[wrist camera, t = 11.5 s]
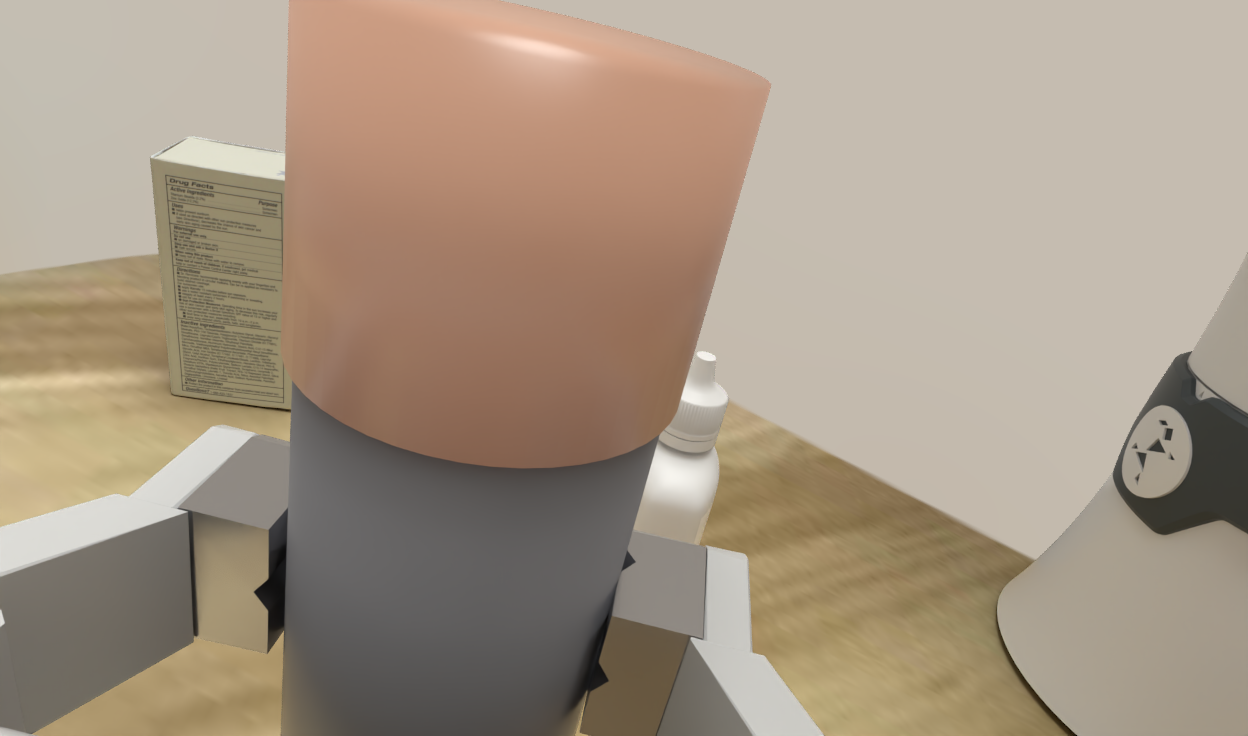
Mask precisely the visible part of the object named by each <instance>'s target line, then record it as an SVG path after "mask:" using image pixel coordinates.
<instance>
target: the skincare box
mask: <svg viewBox="0 0 1248 736" xmlns="http://www.w3.org/2000/svg"><path fill="white" fill-rule="evenodd" d="M150 162H151V172H152V182H153V194H154V204H155V215H156V226H157V227H156V228H157V238H158V250H159V262H160V272H161V284H162V295H163V306H164V317H165V330H166V340H167V351H168V363H169V374H170V385H171V393H172V394H174V395H179V396H187V397H194V398H201V399H208V400H216V401H225V402H233V403H240V404H247V405H254V406H262V407H274V408H283V409H291V398H292V380H291V378H290V376H289V374H288V372H287V370H286V369H285V367H284V363H283V359H282V355H281V317H282V275H283V233H284V191H285V152H282V151H276V150H270V149H264V148H257V147H252V146H246V145H239V144H234V143H229V142H222V141H216V140H210V139H205V138H199V137H193V136H190V137H187V138H185V139H183V140H181V141H179V142H177V143H175V144H173V145H171V146H169V147H167V148H165V149H164V150H162V151H160V152H158V153H156V154H154V155H152V156H151V157H150Z"/></svg>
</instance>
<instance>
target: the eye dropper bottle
mask: <svg viewBox="0 0 1248 736" xmlns="http://www.w3.org/2000/svg"><path fill="white" fill-rule="evenodd" d="M715 365H716V357H715V356H714V355H713V354H711V353H708V352H702V351H701V352H698V353H697V354H696V357H695V358H694V360H693V362H692V364H691V366H690V369H689V372H688V376H687V379H686V383H685V386H684V390H683V393H682V397H681V400H680V403H679V407H678V410H677V413H676V415H675V416H674V418H673V420H672V421H671V423H670V424H669V425H668V426H667V427H666V428H665V429H664V431H663V432H662V433H661V434H660V435H659V439H658V443H657V446H656V450H655V453H654V457H653V460H652V464H651V467H650V471H649V475H648V478H647V482H646V485H645V489H644V492H643V496H642V499H641V503H640V507H639V510H638V514H637V517H636V521H635V524H634V528H633V529H634V530H638V531H643V532H647V533H651V534H655V535H659V536H663V537H667V538H671V539H675V540H679V541H683V542H688V543H692V544H696V545H699V544H700V541H701V538H702V535H703V532H704V528H705V525H706V522H707V519H708V516H709V513H710V510H711V507H712V503H713V500H714V497H715V494H716V490H717V486H718V480H719V461H718V456H717V452H716V449H715V447H714V445H715V443H716V439H717V436H718V433H719V430H720V427H721V423H722V420H723V417H724V414H725V411H726V408H727V404H728V401H729V398H728V396H727V393H726V391H725V390H724V389H723V388H722V387H721V386H720V385H718V384H717V383H715V381H714V376H715Z"/></svg>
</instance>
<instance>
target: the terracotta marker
mask: <svg viewBox="0 0 1248 736" xmlns="http://www.w3.org/2000/svg"><path fill="white" fill-rule="evenodd" d="M288 27H289V28H288V66H287V107H286V109H287V111H286V151H285V191H284V233H283V275H282V317H281V355H282V359H283V363H284V367H285V369H286V370H287V372H288V374H289V376H290V378H291V380H292V398H291V429H290V461H289V492H288V524H287V556H286V587H285V619H284V650H283V682H282V714H281V736H575V734H576V730H577V727H578V723H579V720H580V716H581V713H582V709H583V705H584V702H585V698H586V695H587V690H588V686H589V682H590V679H591V675H592V671H593V668H594V664H595V660H596V656H597V653H598V650H599V648H600V645H601V642H602V638H603V634H604V630H605V624H606V620H607V617H608V613H609V610H610V606H611V602H612V599H613V595H614V592H615V588H616V585H617V581H618V578H619V576H620V574H621V570H622V567H623V563H624V560H625V556H626V553H627V549H628V546H629V542H630V538H631V535H632V531H633V528H634V524H635V521H636V517H637V514H638V510H639V507H640V503H641V499H642V496H643V492H644V489H645V485H646V482H647V478H648V475H649V471H650V467H651V464H652V460H653V457H654V453H655V450H656V446H657V443H658V439H659V435H660V434H661V433H662V432H663V431H664V429H665V428H666V427H667V426H668V425H669V424H670V423H671V421H672V420H673V418H674V416H675V415H676V413H677V410H678V407H679V403H680V400H681V397H682V393H683V390H684V386H685V383H686V379H687V376H688V372H689V369H690V365H691V362H692V358H693V355H694V351H695V348H696V345H697V341H698V338H699V334H700V330H701V327H702V324H703V320H704V316H705V313H706V310H707V306H708V303H709V300H710V296H711V293H712V289H713V286H714V282H715V278H716V275H717V271H718V268H719V265H720V261H721V258H722V254H723V251H724V248H725V244H726V241H727V237H728V233H729V230H730V227H731V223H732V220H733V216H734V213H735V209H736V206H737V203H738V199H739V196H740V192H741V189H742V185H743V182H744V178H745V175H746V171H747V168H748V164H749V161H750V158H751V154H752V151H753V147H754V144H755V140H756V137H757V133H758V130H759V126H760V123H761V119H762V116H763V112H764V109H765V106H766V102H767V98H768V95H769V91H770V88H771V84H770V82H769V81H768V80H766V79H765V78H763V77H762V76H760V75H758V74H756V73H754V72H752V71H749V70H747V69H744V68H742V67H739V66H737V65H735V64H732V63H729V62H727V61H724V60H721V59H718V58H715V57H712V56H709V55H706V54H703V53H700V52H697V51H694V50H691V49H688V48H684V47H681V46H678V45H674V44H671V43H668V42H664V41H661V40H658V39H654V38H651V37H647V36H643V35H640V34H636V33H632V32H629V31H625V30H621V29H617V28H614V27H610V26H606V25H602V24H598V23H594V22H590V21H586V20H582V19H578V18H574V17H570V16H566V15H561V14H558V13H553V12H549V11H544V10H540V9H536V8H532V7H527V6H523V5H518V4H514V3H509V2H504V1H500V0H289V23H288Z"/></svg>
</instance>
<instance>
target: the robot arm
mask: <svg viewBox="0 0 1248 736" xmlns="http://www.w3.org/2000/svg"><path fill="white" fill-rule="evenodd" d="M289 461H290V442H288V441H284V440H280V439H277V438H273V437H269V436H266V435H259V434H257V433H253V432H249V431H246V430H242V429H238V428H234V427H230V426H226V425H218V426H213V427H211V428H209V429H208V430H207V431H206V432H204V433H203V434H202V435H201V436H200V437H199V438H197V439H196V440H195V441H194V442H193V443H191V444H190V445H189V446H188V447H187V448H186V449H184V450H183V451H182V452H181V453H180V454H178V455H177V456H176V457H175V458H174V459H173V460H171V461H170V462H169V463H168V464H167V465H165V466H164V467H163V468H162V469H161V470H160V471H158V472H157V473H156V474H155V475H154V476H152V477H151V478H150V479H149V480H148V481H147V482H145V483H144V484H143V485H142V486H141V487H139V488H138V489H137V490H136V491H135V492H134V493H132V494H131V495H130V496H129V497H128V496H124V495H119V494H113V495H109V496H106V497H103V498H99V499H96V500H92V501H89V502H85V503H82V504H78V505H75V506H71V507H68V508H65V509H61V510H58V511H54V512H51V513H47V514H44V515H40V516H37V517H34V518H30V519H27V520H23V521H20V522H16V523H13V524H9V525H6V526H2V527H0V736H36V735H32V734H33V733H34V732H36V731H38V730H40V729H41V728H43V727H45V726H47V725H48V724H50V723H52V722H54V721H55V720H57V719H59V718H61V717H62V716H64V715H66V714H68V713H70V712H71V711H73V710H75V709H77V708H78V707H80V706H82V705H84V704H85V703H87V702H89V701H91V700H92V699H94V698H96V697H98V696H99V695H101V694H103V693H105V692H107V691H108V690H110V689H112V688H114V687H115V686H117V685H119V684H121V683H122V682H124V681H126V680H128V679H129V678H131V677H133V676H135V675H136V674H138V673H140V672H142V671H144V670H145V669H147V668H149V667H151V666H152V665H154V664H156V663H158V662H159V661H161V660H163V659H165V658H166V657H168V656H170V655H172V654H173V653H175V652H177V651H179V650H180V649H182V648H184V647H186V646H188V645H189V644H191V643H193V642H194V638H197V639H202V640H206V641H211V642H215V643H220V644H224V645H229V646H233V647H238V648H242V649H247V650H251V651H256V652H260V653H265V654H268V652H269V651H270V649H271V648H272V646H273V645H274V644H275V642H276V641H277V639H278V638H279V636H280V635H281V634H282V632H283V631H284V619H285V587H286V556H287V524H288V492H289ZM997 617H998V623H999V628H1000V631H1001V635H1002V637H1003V640H1004V642H1005V645H1006V647H1007V649H1008V651H1009V653H1010V655H1011V657H1012V659H1013V660H1014V662H1015V664H1016V665H1017V667H1018V668H1019V670H1020V672H1021V673H1022V674H1023V676H1024V677H1025V679H1026V680H1027V682H1028V683H1029V684H1030V685H1031V687H1032V688H1033V689H1034V691H1035V692H1036V693H1037V694H1038V695H1039V697H1040V698H1041V699H1042V700H1043V701H1044V703H1045V704H1046V705H1047V706H1048V707H1049V708H1050V709H1051V710H1052V711H1053V712H1054V713H1055V714H1056V715H1057V716H1058V717H1059V718H1060V719H1061V720H1062V722H1063V723H1064V724H1066V725H1067V726H1068V727H1069V728H1070V729H1071V730H1072V731H1073V732H1074V733H1075V734H1076V735H1077V736H1248V253H1247V255H1246V257H1245V259H1244V261H1243V263H1242V265H1241V267H1240V269H1239V271H1238V273H1237V275H1236V276H1235V279H1234V280H1233V282H1232V284H1231V286H1230V287H1229V289H1228V291H1227V293H1226V295H1225V297H1224V298H1223V300H1222V302H1221V304H1220V305H1219V308H1218V309H1217V311H1216V313H1215V314H1214V316H1213V318H1212V319H1211V321H1210V323H1209V324H1208V326H1207V328H1206V330H1205V331H1204V333H1203V335H1202V336H1201V338H1200V340H1199V341H1198V343H1197V345H1196V347H1195V348H1194V350H1193V351H1191V352H1187V353H1184V354H1180V355H1179V356H1177V357H1176V358H1175V359H1174V361H1173V362H1172V364H1171V366H1170V367H1169V368H1168V370H1167V371H1166V373H1165V374H1164V376H1163V377H1162V379H1161V381H1160V382H1159V384H1158V385H1157V387H1156V388H1155V390H1154V391H1153V393H1152V395H1151V396H1150V398H1149V400H1148V401H1147V403H1146V404H1145V406H1144V407H1143V409H1142V411H1141V412H1140V414H1139V416H1138V417H1137V419H1136V420H1135V422H1134V424H1133V426H1132V428H1131V430H1130V432H1129V434H1128V437H1127V439H1126V441H1125V443H1124V445H1123V448H1122V450H1121V453H1120V455H1119V457H1118V460H1117V463H1116V465H1115V468H1114V471H1113V473H1112V474H1111V475H1110V477H1109V478H1108V479H1107V481H1106V482H1105V483H1104V485H1103V486H1102V487H1101V489H1100V490H1099V491H1098V492H1097V494H1096V495H1095V496H1094V498H1093V499H1092V500H1091V501H1090V503H1089V504H1088V505H1087V506H1086V508H1085V509H1084V510H1083V511H1082V512H1081V513H1080V515H1079V516H1078V517H1077V518H1076V519H1075V521H1074V522H1073V523H1072V524H1071V525H1070V526H1069V527H1068V528H1067V529H1066V531H1065V532H1064V533H1063V534H1062V535H1061V536H1060V537H1059V538H1058V539H1057V540H1056V541H1055V542H1054V543H1053V544H1052V545H1051V546H1050V547H1049V548H1048V549H1047V550H1046V551H1045V552H1044V553H1043V554H1042V555H1041V556H1040V557H1039V558H1038V559H1037V560H1035V561H1034V562H1033V563H1032V564H1031V565H1030V566H1029V567H1027V568H1026V569H1025V570H1024V571H1023V572H1021V573H1020V574H1019V575H1017V576H1016V577H1015V578H1014V579H1012V580H1011V581H1010V582H1009V583H1008V584H1006V586H1005V587H1004V588H1003V590H1002V592H1001V594H1000V596H999V599H998V605H997ZM580 733H582V734H586V735H589V736H824V734H823V733H822V732H821V730H820V729H819V728H818V726H817V725H816V724H815V722H814V721H813V720H812V718H811V717H810V716H809V714H808V713H807V712H806V710H805V709H804V708H803V706H802V705H801V704H800V702H799V701H798V700H797V698H796V697H795V696H794V694H793V693H792V692H791V690H790V689H789V688H788V686H787V685H786V684H785V682H784V681H783V680H782V678H781V677H780V676H779V674H778V673H777V672H776V670H775V669H774V668H773V666H772V665H771V664H770V663H769V661H768V660H767V659H766V657H765V656H763V655H759V654H755V653H752V631H751V608H750V585H749V562H748V558H747V557H746V555H745V554H742V553H738V552H733V551H729V550H724V549H719V548H715V547H710V546H705V547H704V546H700V545H696V544H692V543H688V542H683V541H679V540H675V539H671V538H667V537H663V536H659V535H655V534H651V533H647V532H643V531H638V530H634V529H633V531H632V535H631V538H630V542H629V546H628V549H627V553H626V556H625V560H624V563H623V567H622V570H621V574H620V576H619V578H618V581H617V585H616V588H615V592H614V595H613V599H612V602H611V606H610V610H609V613H608V617H607V620H606V624H605V630H604V634H603V638H602V642H601V645H600V648H599V650H598V653H597V656H596V660H595V664H594V668H593V671H592V675H591V679H590V682H589V686H588V690H587V696H586V701H585V706H584V712H583V717H582V722H581V728H580Z"/></svg>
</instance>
